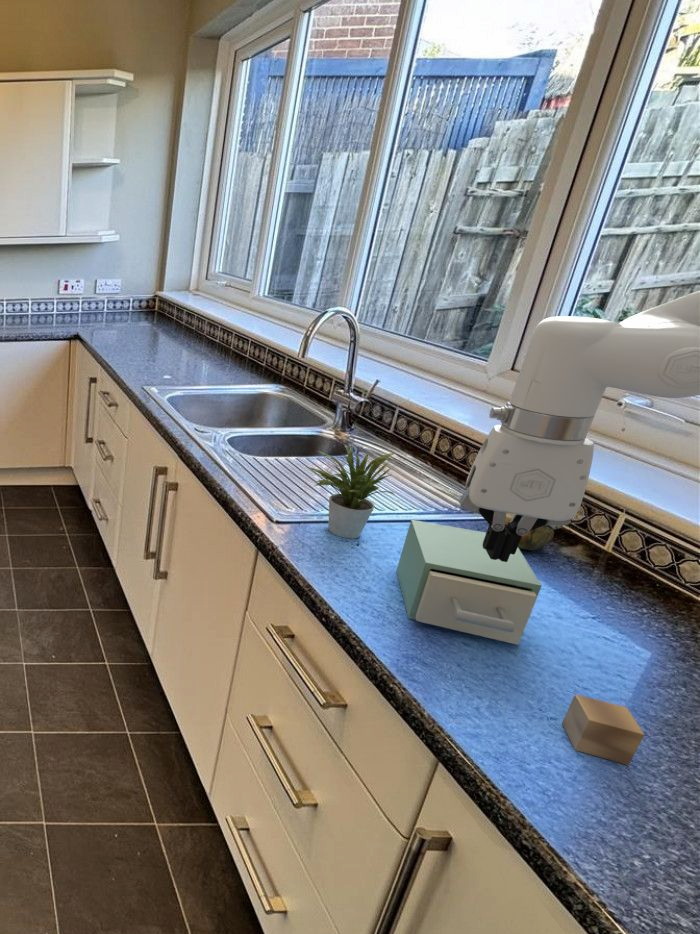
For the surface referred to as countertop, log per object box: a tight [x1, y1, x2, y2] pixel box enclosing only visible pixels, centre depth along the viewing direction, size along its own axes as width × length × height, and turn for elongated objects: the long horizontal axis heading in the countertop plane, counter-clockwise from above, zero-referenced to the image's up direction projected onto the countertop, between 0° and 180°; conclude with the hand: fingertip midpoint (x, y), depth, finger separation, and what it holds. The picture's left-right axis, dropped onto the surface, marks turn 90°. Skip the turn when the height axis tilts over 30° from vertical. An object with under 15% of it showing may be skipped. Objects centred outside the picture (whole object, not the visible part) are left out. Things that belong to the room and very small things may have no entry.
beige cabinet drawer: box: [415, 569, 538, 646], centre depth 88 cm, size 18×11×8 cm, turn 152°
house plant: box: [308, 444, 396, 540], centre depth 113 cm, size 14×14×16 cm
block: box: [561, 693, 645, 766], centre depth 68 cm, size 4×4×4 cm
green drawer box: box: [396, 519, 543, 621], centre depth 92 cm, size 15×13×10 cm
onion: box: [505, 513, 564, 551], centre depth 108 cm, size 8×8×8 cm
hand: (495, 555), depth 80 cm, fingers closed
